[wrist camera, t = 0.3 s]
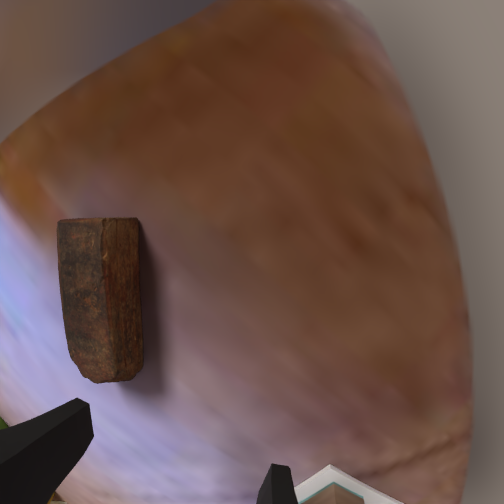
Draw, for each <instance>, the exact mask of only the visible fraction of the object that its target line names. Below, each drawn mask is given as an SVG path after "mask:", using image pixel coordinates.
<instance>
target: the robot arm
mask: <svg viewBox="0 0 504 504" xmlns="http://www.w3.org/2000/svg"><path fill="white" fill-rule="evenodd" d="M93 437H94V433H93V427H92V420H91V413H90V405H89V403H87V402H85V401H83V400H81V399H79V398H75V399H73V400H71V401H69V402H67V403H65V404H63V405H61V406H59V407H57V408H55V409H53V410H51V411H48V412H46V413H44V414H42V415H40V416H37V417H35V418H33V419H31V420H28V421H25V422H23V423H20V424H17V425H15V426H12V427H8V428H5V429H1V430H0V504H47V503H48V501H49V500H50V498H51V496H52V495H53V493H54V492H55V490H56V489H57V488H58V486H59V485H60V484H61V482H62V481H63V480H64V479H65V477H66V476H67V475H68V474H69V473H70V471H71V470H72V469H73V468H74V466H75V465H76V464H77V462H78V461H79V460H80V459H81V457H82V456H83V455H84V453H85V451H86V450H87V448H88V446H89V444H90V443H91V441H92V439H93ZM256 504H298V501H297V497H296V494H295V490H294V486H293V481H292V476H291V470H290V468H289V466H283V465H278V464H271V466H270V469H269V471H268V473H267V475H266V477H265V480H264V482H263V484H262V486H261V488H260V490H259V494H258V498H257V503H256Z"/></svg>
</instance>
